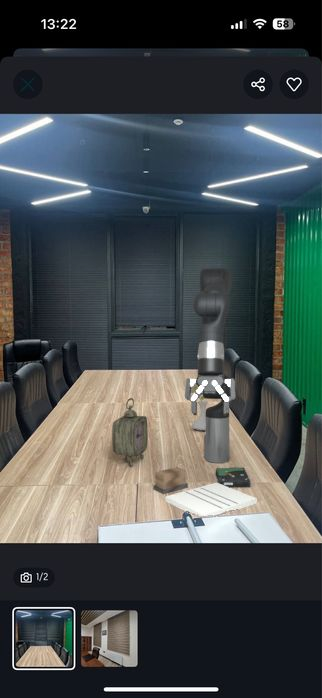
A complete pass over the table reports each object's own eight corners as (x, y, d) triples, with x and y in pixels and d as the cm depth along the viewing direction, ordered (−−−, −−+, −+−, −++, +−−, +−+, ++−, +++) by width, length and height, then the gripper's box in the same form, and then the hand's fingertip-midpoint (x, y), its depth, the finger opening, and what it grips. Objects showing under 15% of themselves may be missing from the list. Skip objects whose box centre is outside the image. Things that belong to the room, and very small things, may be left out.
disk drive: (251, 489, 165) (243, 474, 180) (251, 481, 165) (244, 466, 180) (219, 489, 165) (215, 474, 180) (219, 481, 165) (215, 466, 180)
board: (165, 501, 153) (165, 496, 153) (216, 487, 166) (216, 482, 165) (203, 520, 139) (203, 515, 139) (257, 503, 151) (257, 498, 151)
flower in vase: (208, 426, 255) (208, 377, 253) (218, 431, 244) (218, 380, 242) (184, 428, 251) (184, 378, 249) (193, 433, 240) (193, 381, 238)
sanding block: (163, 494, 159) (163, 476, 159) (153, 490, 164) (153, 472, 163) (187, 488, 165) (187, 470, 165) (177, 483, 170) (177, 466, 169)
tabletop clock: (133, 468, 186) (132, 402, 184) (111, 466, 189) (110, 400, 187) (147, 458, 199) (147, 395, 198) (127, 456, 203) (126, 394, 201)
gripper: (236, 361, 147) (236, 417, 143) (188, 361, 150) (187, 416, 147) (234, 356, 140) (234, 414, 136) (184, 356, 143) (182, 413, 139)
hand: (209, 415), depth 141 cm, fingers open, 8 cm apart
